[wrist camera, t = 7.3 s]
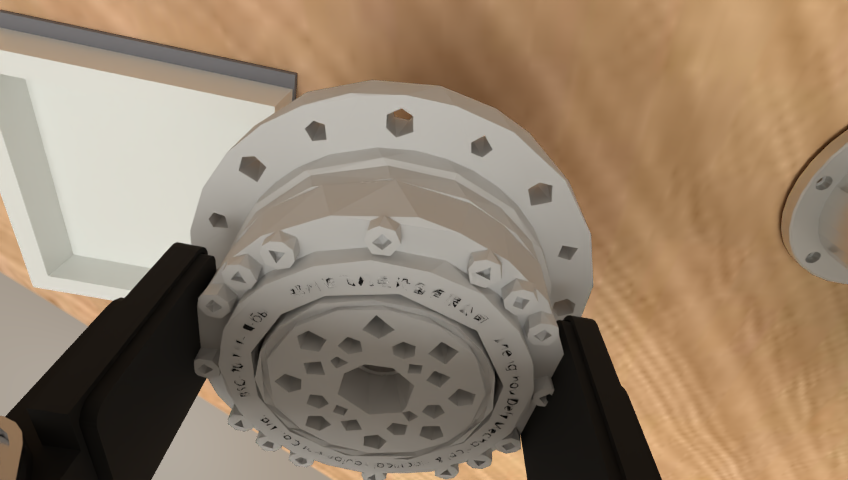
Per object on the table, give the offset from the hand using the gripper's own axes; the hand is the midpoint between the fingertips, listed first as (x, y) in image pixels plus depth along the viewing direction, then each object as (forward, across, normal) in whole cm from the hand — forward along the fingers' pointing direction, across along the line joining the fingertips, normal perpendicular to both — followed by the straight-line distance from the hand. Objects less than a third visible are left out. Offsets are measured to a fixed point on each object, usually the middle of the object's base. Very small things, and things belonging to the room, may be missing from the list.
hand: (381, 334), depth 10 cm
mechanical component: (+3, 0, 0) cm, 3 cm away
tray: (+18, +15, +9) cm, 25 cm away
